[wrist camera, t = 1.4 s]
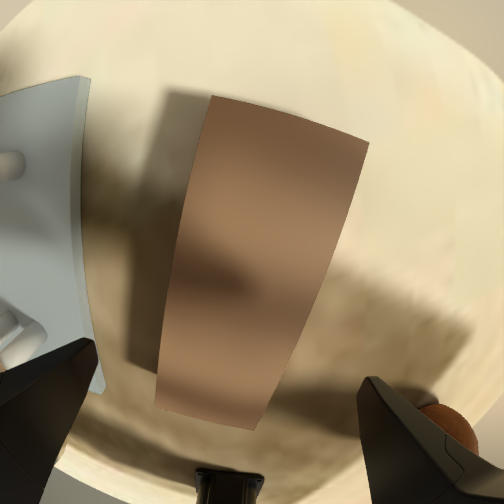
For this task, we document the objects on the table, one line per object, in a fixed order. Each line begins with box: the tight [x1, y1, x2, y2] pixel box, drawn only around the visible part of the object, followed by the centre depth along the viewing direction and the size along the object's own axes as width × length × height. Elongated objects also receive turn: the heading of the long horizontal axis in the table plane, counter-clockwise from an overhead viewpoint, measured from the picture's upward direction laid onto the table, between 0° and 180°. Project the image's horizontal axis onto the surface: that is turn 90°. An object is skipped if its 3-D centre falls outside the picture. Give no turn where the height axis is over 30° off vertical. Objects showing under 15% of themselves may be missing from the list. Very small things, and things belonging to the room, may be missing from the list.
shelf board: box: [155, 95, 369, 430], centre depth 13 cm, size 16×6×3 cm, turn 165°
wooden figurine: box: [418, 404, 479, 456], centre depth 11 cm, size 7×6×15 cm
